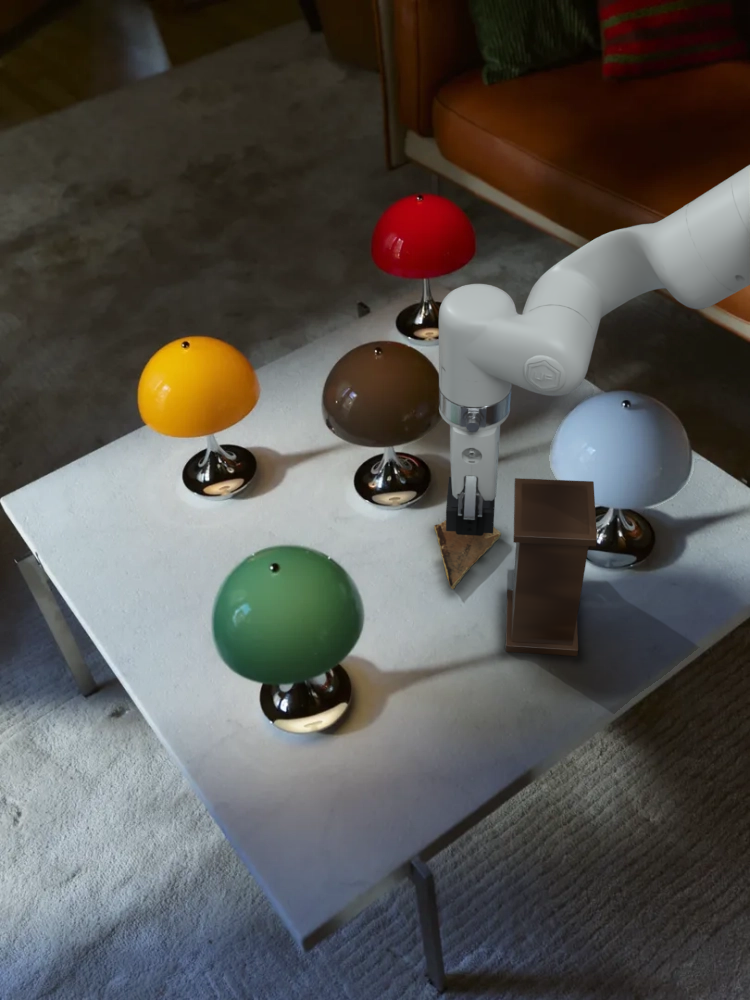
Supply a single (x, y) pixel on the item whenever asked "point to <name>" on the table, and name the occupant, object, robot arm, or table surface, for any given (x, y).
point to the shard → (462, 550)
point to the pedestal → (549, 564)
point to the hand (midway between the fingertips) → (471, 512)
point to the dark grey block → (453, 504)
